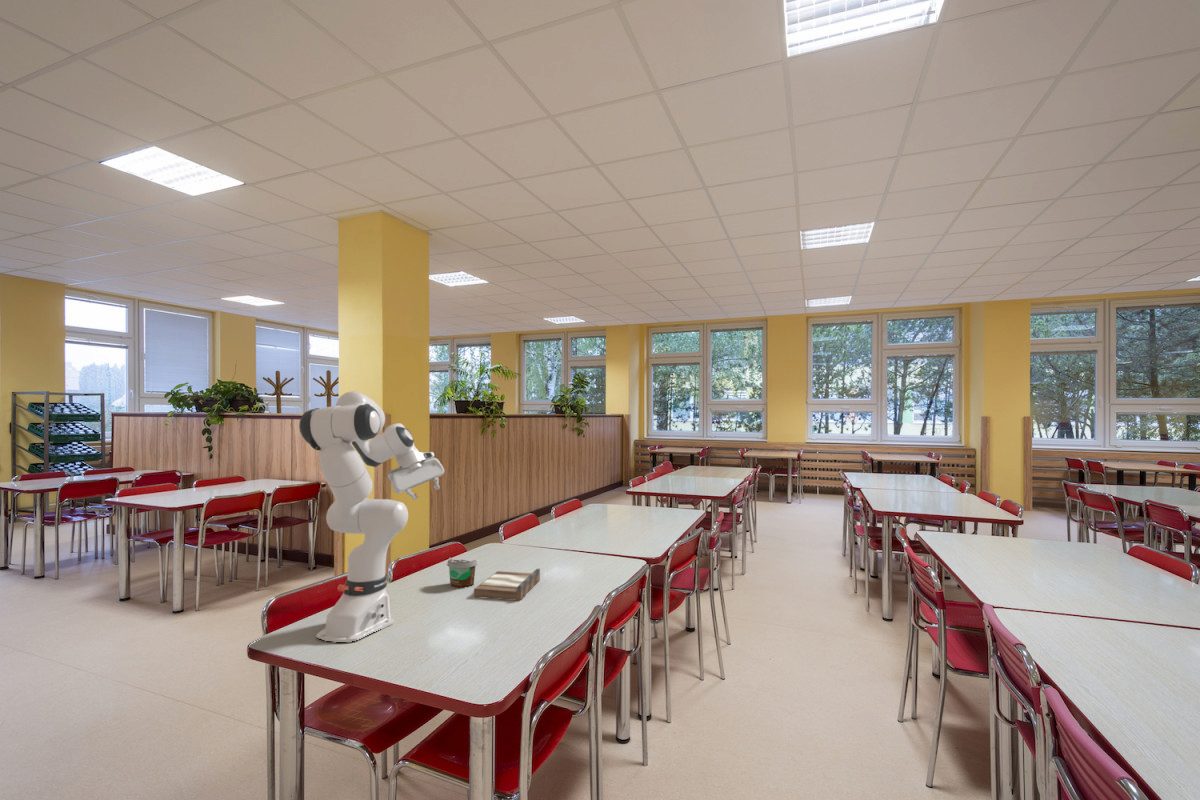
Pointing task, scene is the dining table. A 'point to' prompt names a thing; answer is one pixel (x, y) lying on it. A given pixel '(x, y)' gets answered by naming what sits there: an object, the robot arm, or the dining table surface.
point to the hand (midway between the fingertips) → (426, 493)
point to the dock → (508, 585)
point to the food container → (461, 573)
